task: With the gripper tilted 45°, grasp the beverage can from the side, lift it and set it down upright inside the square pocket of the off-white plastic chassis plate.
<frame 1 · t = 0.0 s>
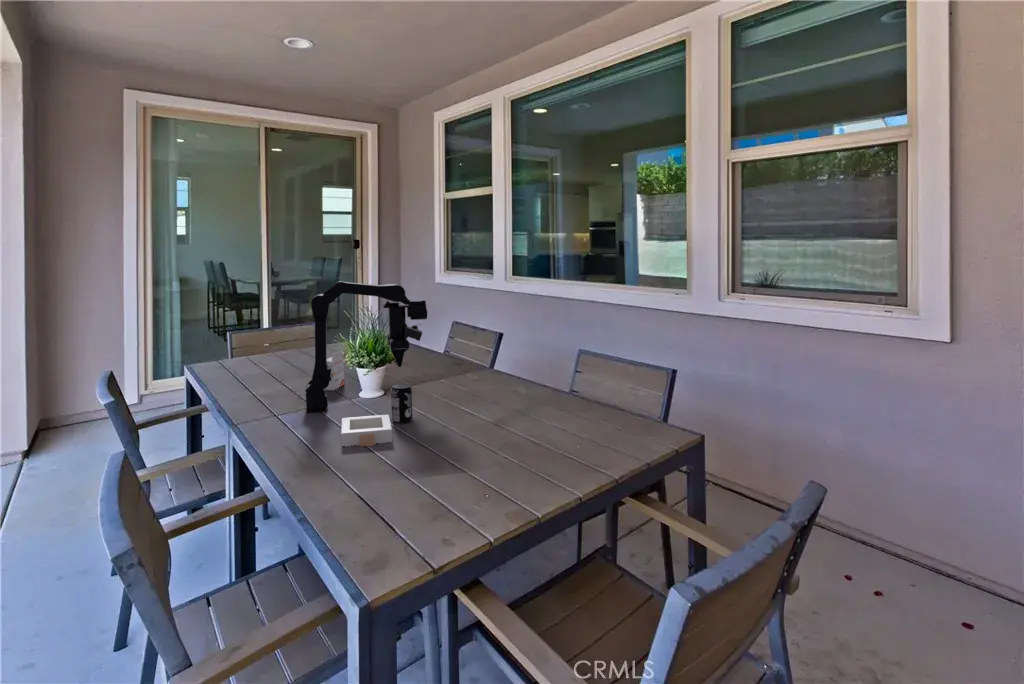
hand: (398, 363, 195), 15 cm above the table, tool pointing down, fingers open, 9 cm apart
beverage can: (402, 421, 180), on the table
ink cartridge box: (334, 388, 218), on the table
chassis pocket: (366, 436, 166), on the table
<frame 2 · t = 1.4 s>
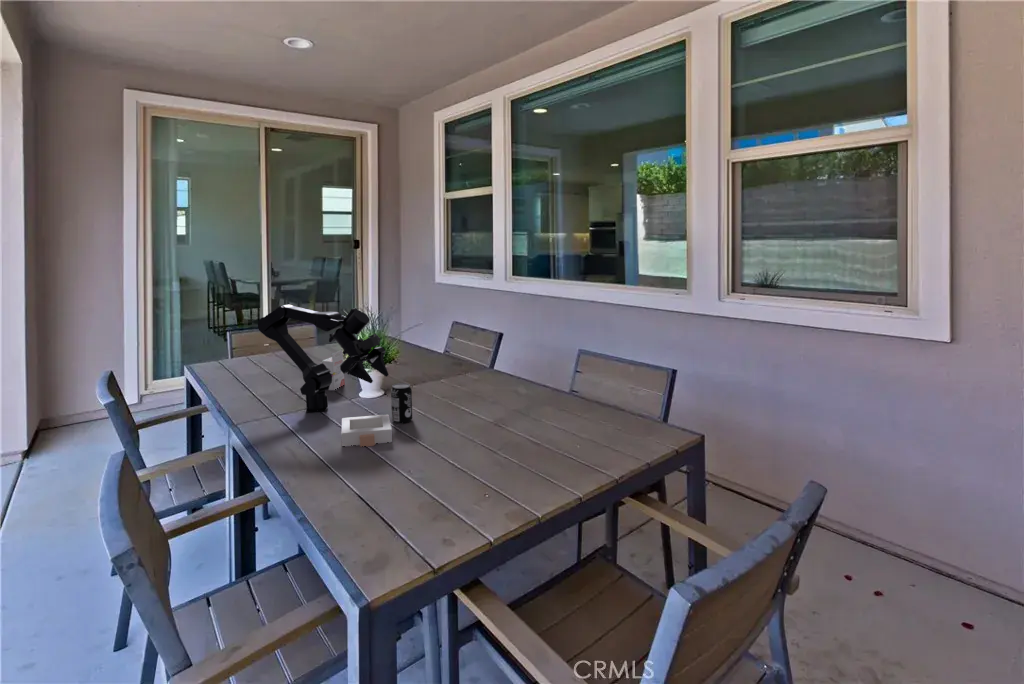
hand: (380, 378, 180), 13 cm above the table, tool tilted 45°, fingers open, 9 cm apart
nothing on the table moved.
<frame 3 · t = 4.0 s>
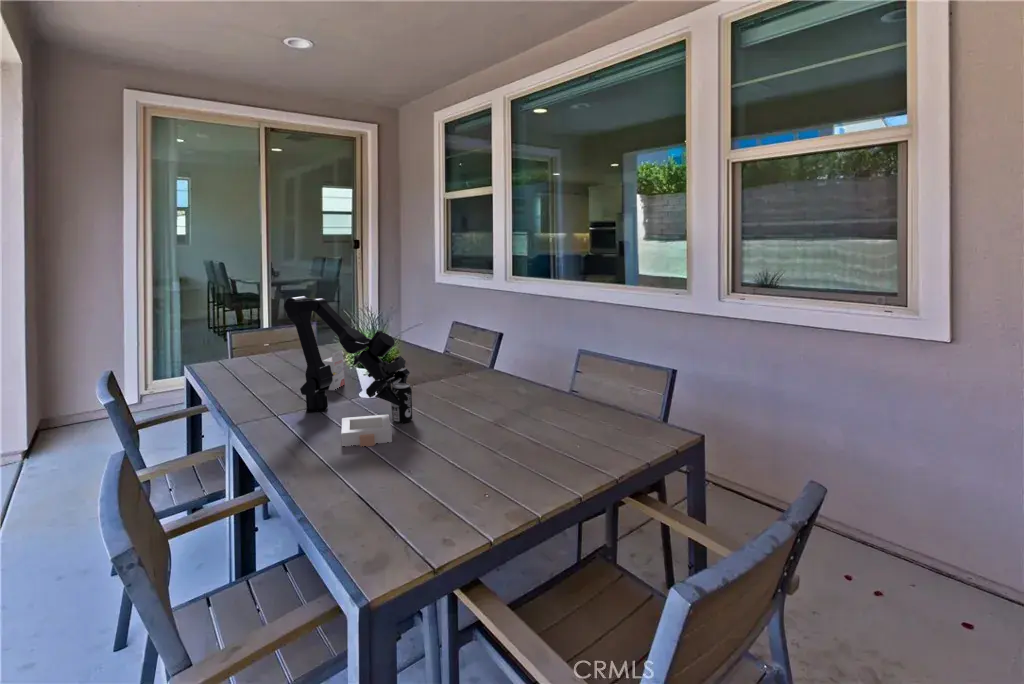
hand: (405, 401, 178), 7 cm above the table, tool tilted 45°, fingers closed on beverage can, 7 cm apart
beverage can: (402, 421, 180), on the table, touching gripper
everything else where it was.
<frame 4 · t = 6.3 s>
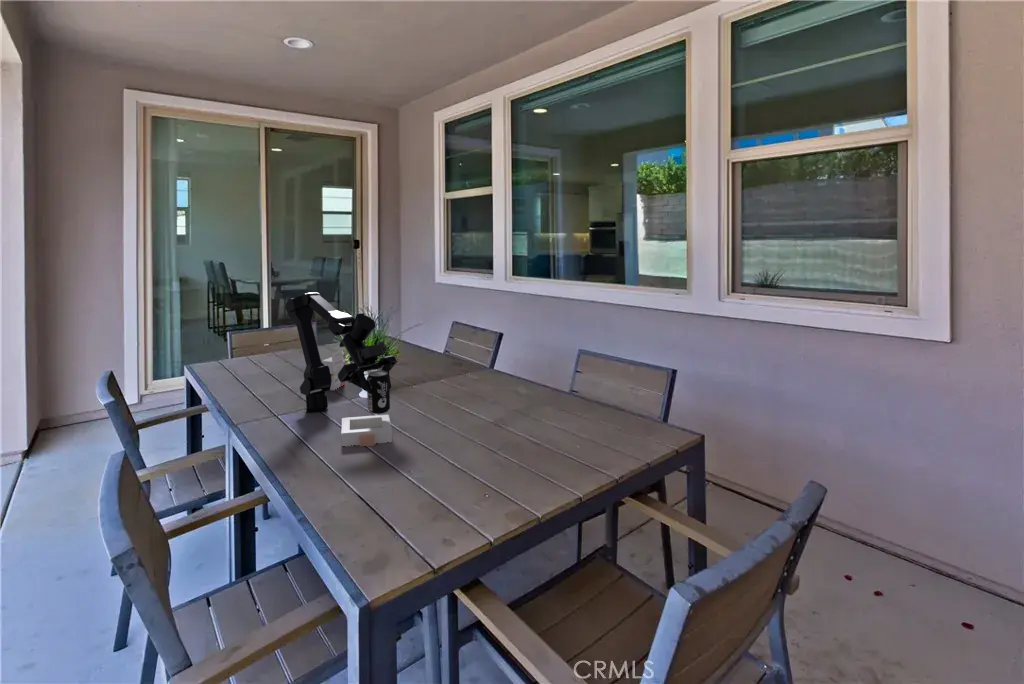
hand: (381, 390, 166), 13 cm above the table, tool tilted 45°, fingers closed on beverage can, 7 cm apart
beverage can: (379, 411, 168), point 6 cm above the table, touching gripper
everything else where it was.
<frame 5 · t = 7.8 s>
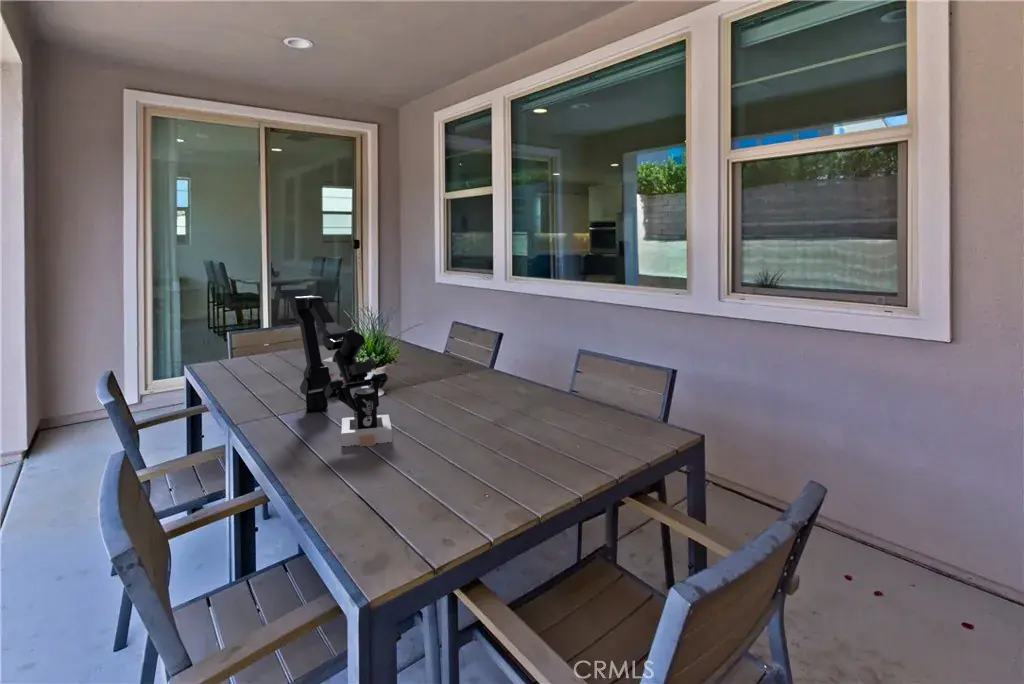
hand: (367, 408, 163), 9 cm above the table, tool tilted 45°, fingers closed on beverage can, 7 cm apart
beverage can: (366, 429, 165), point 2 cm above the table, touching gripper
everything else where it was.
when the fingers open (9 cm above the table, at t = 8.7 s): beverage can drops 1 cm, resting on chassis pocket.
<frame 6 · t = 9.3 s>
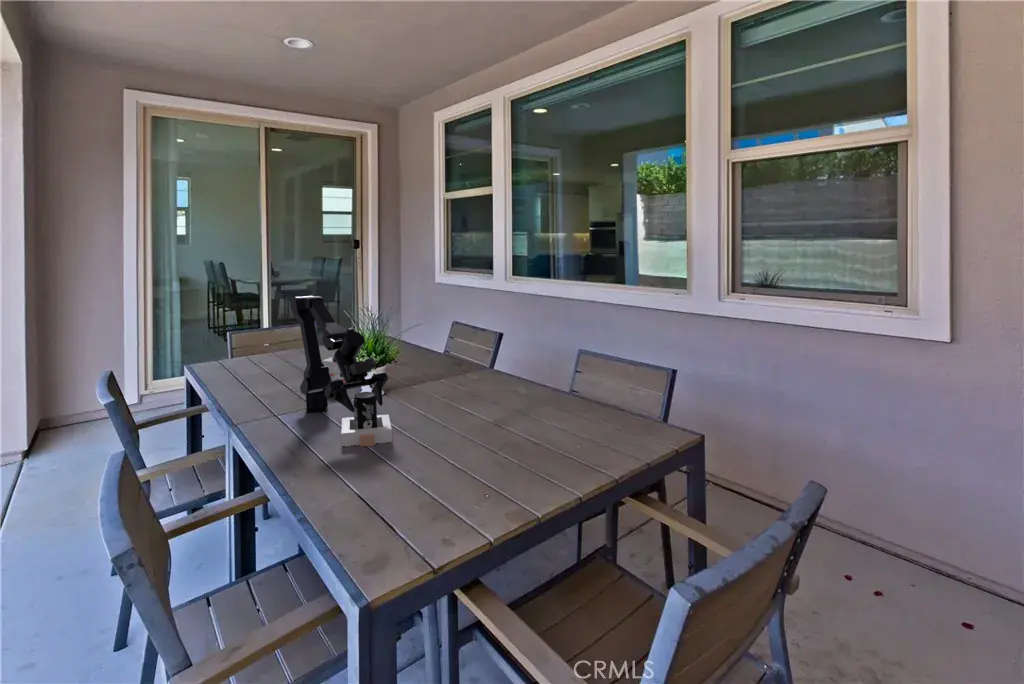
hand: (367, 408, 163), 9 cm above the table, tool tilted 45°, fingers open, 9 cm apart
beverage can: (366, 433, 166), point 1 cm above the table, touching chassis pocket
everything else where it was.
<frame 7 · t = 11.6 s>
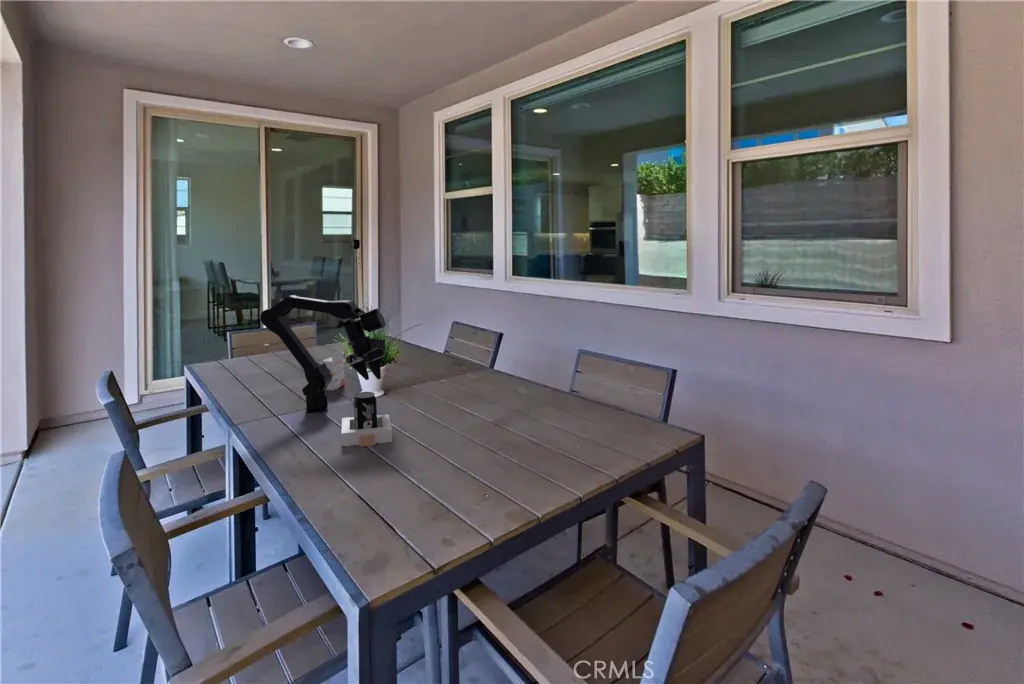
hand: (373, 379, 188), 11 cm above the table, tool tilted 20°, fingers open, 9 cm apart
nothing on the table moved.
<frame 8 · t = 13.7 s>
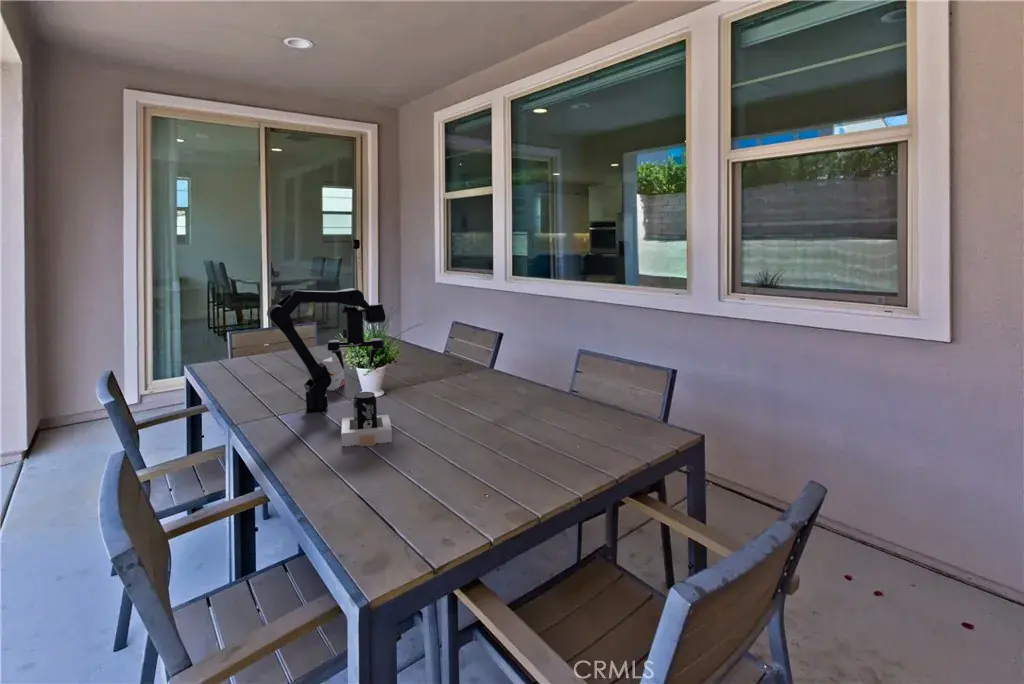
hand: (356, 368, 196), 13 cm above the table, tool pointing down, fingers open, 9 cm apart
nothing on the table moved.
at the end: beverage can 0.2 cm off-centre on the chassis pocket, point 0.8 cm above the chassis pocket's base; beverage can tilted 0°; the gripper is holding nothing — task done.
